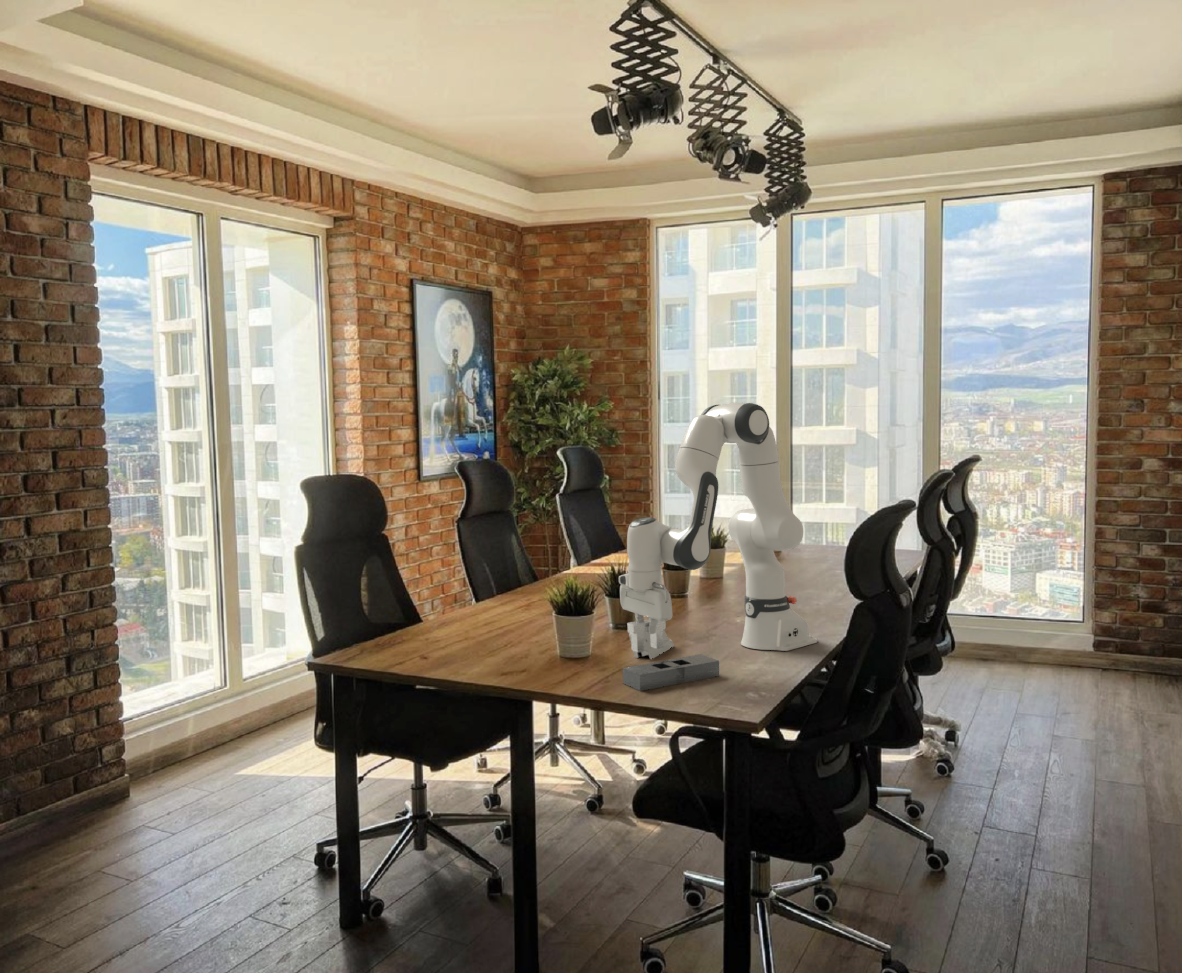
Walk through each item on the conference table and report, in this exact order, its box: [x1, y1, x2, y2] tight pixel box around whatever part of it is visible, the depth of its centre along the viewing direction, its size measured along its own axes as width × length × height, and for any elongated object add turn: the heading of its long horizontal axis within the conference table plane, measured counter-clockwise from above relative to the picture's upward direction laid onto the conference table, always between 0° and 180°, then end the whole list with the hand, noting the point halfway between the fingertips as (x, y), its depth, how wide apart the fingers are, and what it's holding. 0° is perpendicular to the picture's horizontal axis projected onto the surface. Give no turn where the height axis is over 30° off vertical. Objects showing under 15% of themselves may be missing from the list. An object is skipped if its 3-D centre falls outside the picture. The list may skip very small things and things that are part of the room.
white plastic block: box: [628, 629, 675, 660], centre depth 277 cm, size 17×5×10 cm, turn 152°
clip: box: [626, 618, 667, 653], centre depth 258 cm, size 10×3×8 cm, turn 120°
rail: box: [622, 654, 720, 692], centre depth 248 cm, size 24×8×4 cm, turn 119°
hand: (646, 631), depth 258 cm, fingers closed on clip, 3 cm apart
